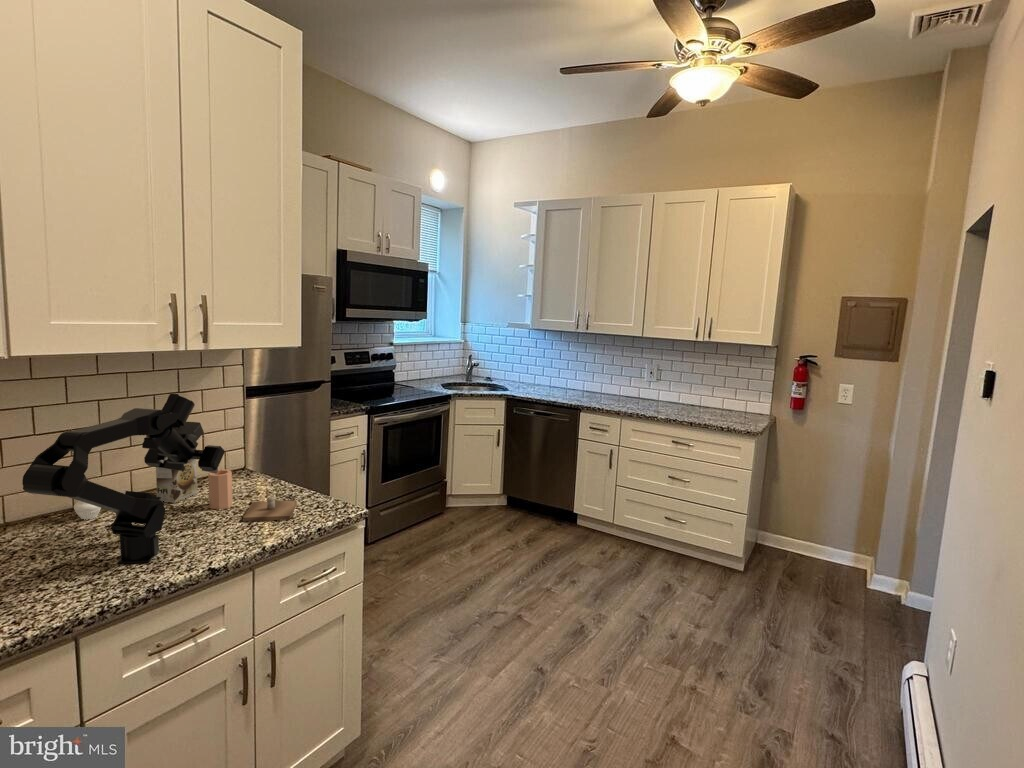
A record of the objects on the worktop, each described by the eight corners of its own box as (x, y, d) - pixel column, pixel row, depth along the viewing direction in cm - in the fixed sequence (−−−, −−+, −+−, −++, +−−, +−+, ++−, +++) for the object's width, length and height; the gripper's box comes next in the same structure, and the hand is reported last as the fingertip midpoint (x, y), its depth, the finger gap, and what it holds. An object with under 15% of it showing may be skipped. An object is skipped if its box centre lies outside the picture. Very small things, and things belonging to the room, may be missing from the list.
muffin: (95, 522, 147) (93, 496, 145) (69, 522, 146) (67, 497, 145) (108, 513, 153) (106, 488, 152) (83, 513, 152) (81, 489, 151)
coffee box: (175, 503, 161) (172, 450, 159) (156, 501, 163) (153, 448, 160) (198, 493, 170) (196, 442, 168) (180, 491, 171) (178, 440, 169)
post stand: (243, 521, 151) (242, 505, 150) (253, 505, 163) (253, 490, 162) (289, 519, 154) (289, 504, 153) (296, 504, 165) (296, 489, 165)
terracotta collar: (213, 510, 158) (211, 476, 156) (208, 504, 162) (206, 471, 160) (234, 506, 162) (233, 473, 160) (228, 500, 166) (227, 468, 164)
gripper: (218, 416, 140) (244, 446, 153) (149, 412, 142) (180, 442, 154) (200, 455, 134) (229, 483, 147) (127, 450, 135) (162, 478, 148)
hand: (200, 470), depth 149 cm, fingers open, 9 cm apart
